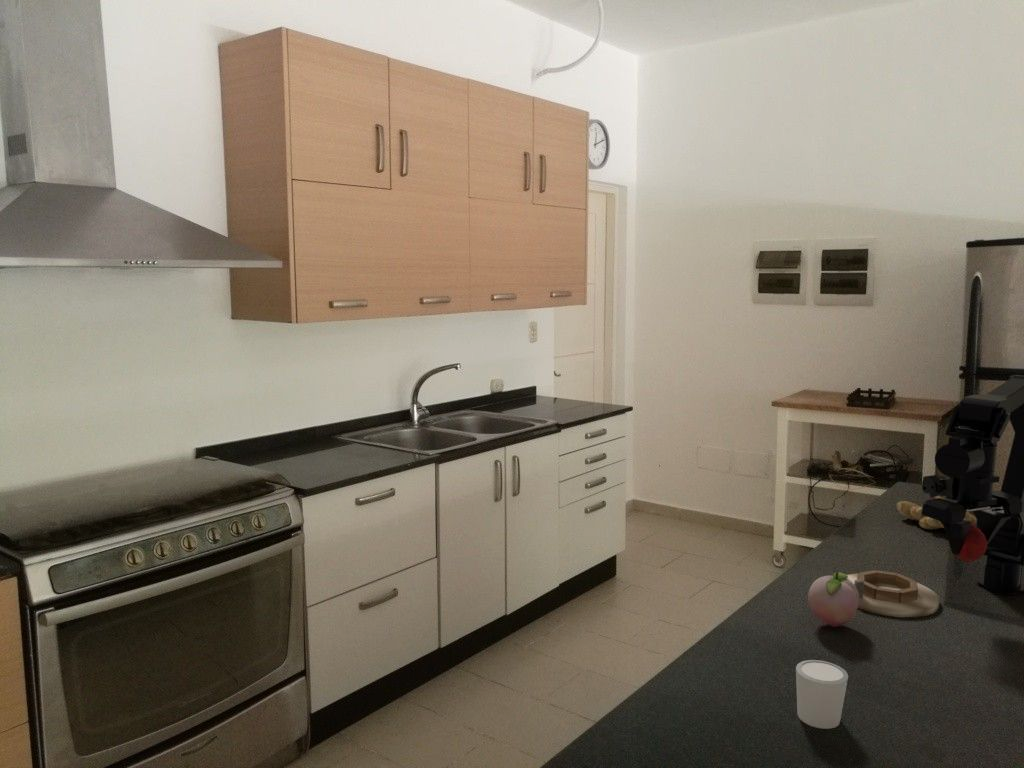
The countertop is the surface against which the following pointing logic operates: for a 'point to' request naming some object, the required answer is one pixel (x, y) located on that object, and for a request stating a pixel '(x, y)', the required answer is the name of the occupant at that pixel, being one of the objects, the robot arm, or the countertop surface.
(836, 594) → the decorative fruit
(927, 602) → the flange plate
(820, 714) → the white cup
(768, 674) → the countertop surface
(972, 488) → the robot arm
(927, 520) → the ginger root
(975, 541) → the onion
